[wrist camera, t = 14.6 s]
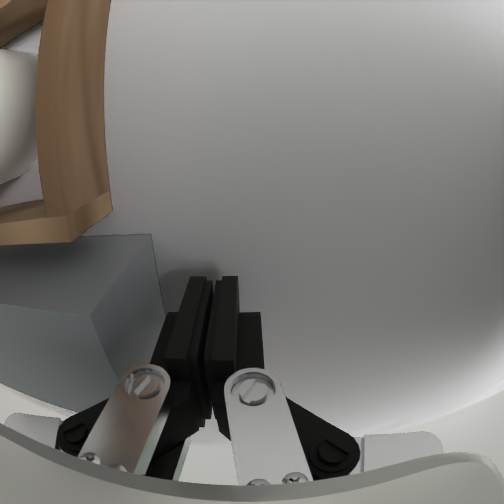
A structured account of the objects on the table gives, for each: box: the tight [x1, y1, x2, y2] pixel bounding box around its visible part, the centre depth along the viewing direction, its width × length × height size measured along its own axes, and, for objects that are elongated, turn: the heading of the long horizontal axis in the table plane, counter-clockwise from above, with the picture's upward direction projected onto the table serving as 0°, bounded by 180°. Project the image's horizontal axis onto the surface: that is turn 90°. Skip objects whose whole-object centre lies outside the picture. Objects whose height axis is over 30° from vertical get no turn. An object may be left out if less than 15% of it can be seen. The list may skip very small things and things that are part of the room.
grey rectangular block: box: [0, 234, 166, 413], centre depth 9 cm, size 9×5×5 cm, turn 90°
